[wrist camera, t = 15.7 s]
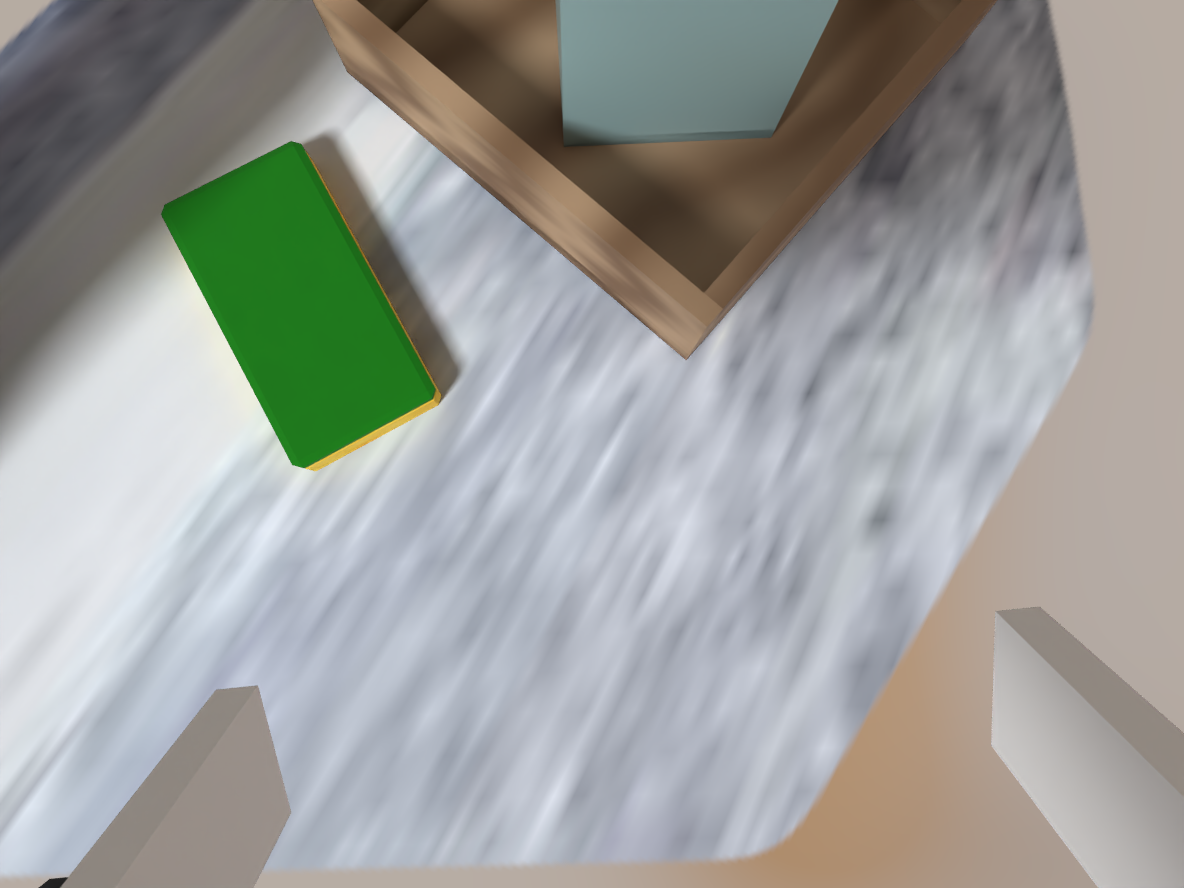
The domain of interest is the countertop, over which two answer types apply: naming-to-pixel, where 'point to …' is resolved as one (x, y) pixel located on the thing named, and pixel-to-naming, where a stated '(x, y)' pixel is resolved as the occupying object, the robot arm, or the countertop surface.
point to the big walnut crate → (647, 170)
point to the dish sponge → (300, 307)
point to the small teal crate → (681, 67)
